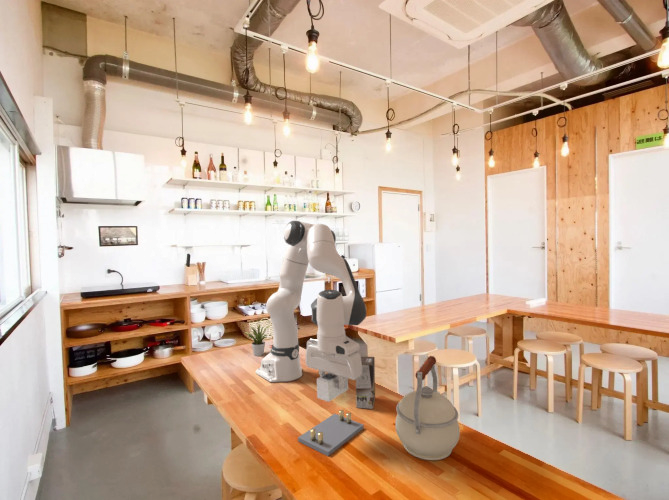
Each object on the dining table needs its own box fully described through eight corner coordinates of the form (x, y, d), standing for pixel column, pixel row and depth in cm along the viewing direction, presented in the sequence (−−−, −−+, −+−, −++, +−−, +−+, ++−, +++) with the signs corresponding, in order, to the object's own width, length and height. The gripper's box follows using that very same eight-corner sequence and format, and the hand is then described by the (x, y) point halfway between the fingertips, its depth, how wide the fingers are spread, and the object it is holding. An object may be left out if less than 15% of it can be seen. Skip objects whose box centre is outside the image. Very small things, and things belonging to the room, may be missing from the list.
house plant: (266, 347, 198) (265, 319, 197) (278, 353, 187) (277, 323, 186) (242, 353, 189) (241, 323, 188) (253, 360, 178) (252, 328, 177)
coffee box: (373, 409, 126) (372, 365, 125) (355, 407, 127) (355, 364, 126) (375, 397, 135) (375, 356, 134) (359, 396, 136) (358, 355, 135)
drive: (317, 397, 107) (316, 378, 107) (337, 386, 115) (336, 367, 115) (328, 401, 105) (327, 381, 104) (348, 389, 112) (347, 370, 112)
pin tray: (298, 441, 107) (297, 427, 107) (334, 416, 121) (334, 404, 121) (328, 456, 99) (327, 441, 99) (363, 428, 113) (363, 415, 113)
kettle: (452, 478, 89) (451, 383, 88) (384, 457, 98) (383, 370, 97) (467, 430, 111) (466, 353, 110) (410, 416, 120) (409, 345, 119)
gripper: (300, 340, 113) (301, 382, 114) (352, 351, 100) (353, 398, 101) (313, 335, 118) (314, 375, 119) (364, 345, 105) (365, 390, 106)
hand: (332, 386), depth 110 cm, fingers closed on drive, 4 cm apart
